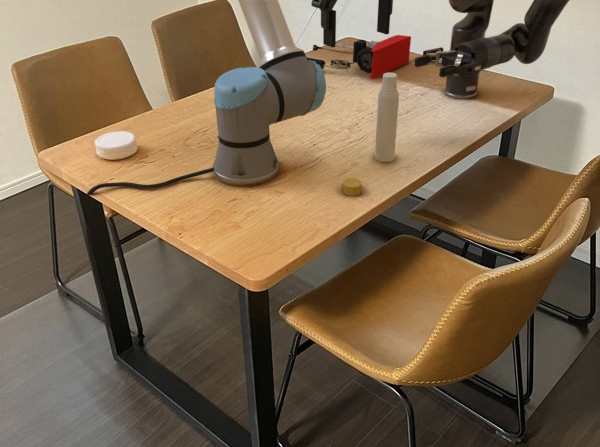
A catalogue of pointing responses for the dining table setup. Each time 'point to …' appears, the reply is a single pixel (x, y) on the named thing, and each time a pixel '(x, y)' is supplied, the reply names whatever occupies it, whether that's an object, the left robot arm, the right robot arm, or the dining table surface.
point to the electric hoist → (374, 55)
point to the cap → (351, 186)
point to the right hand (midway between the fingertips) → (427, 67)
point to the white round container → (116, 145)
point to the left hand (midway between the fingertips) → (356, 39)
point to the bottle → (387, 119)
